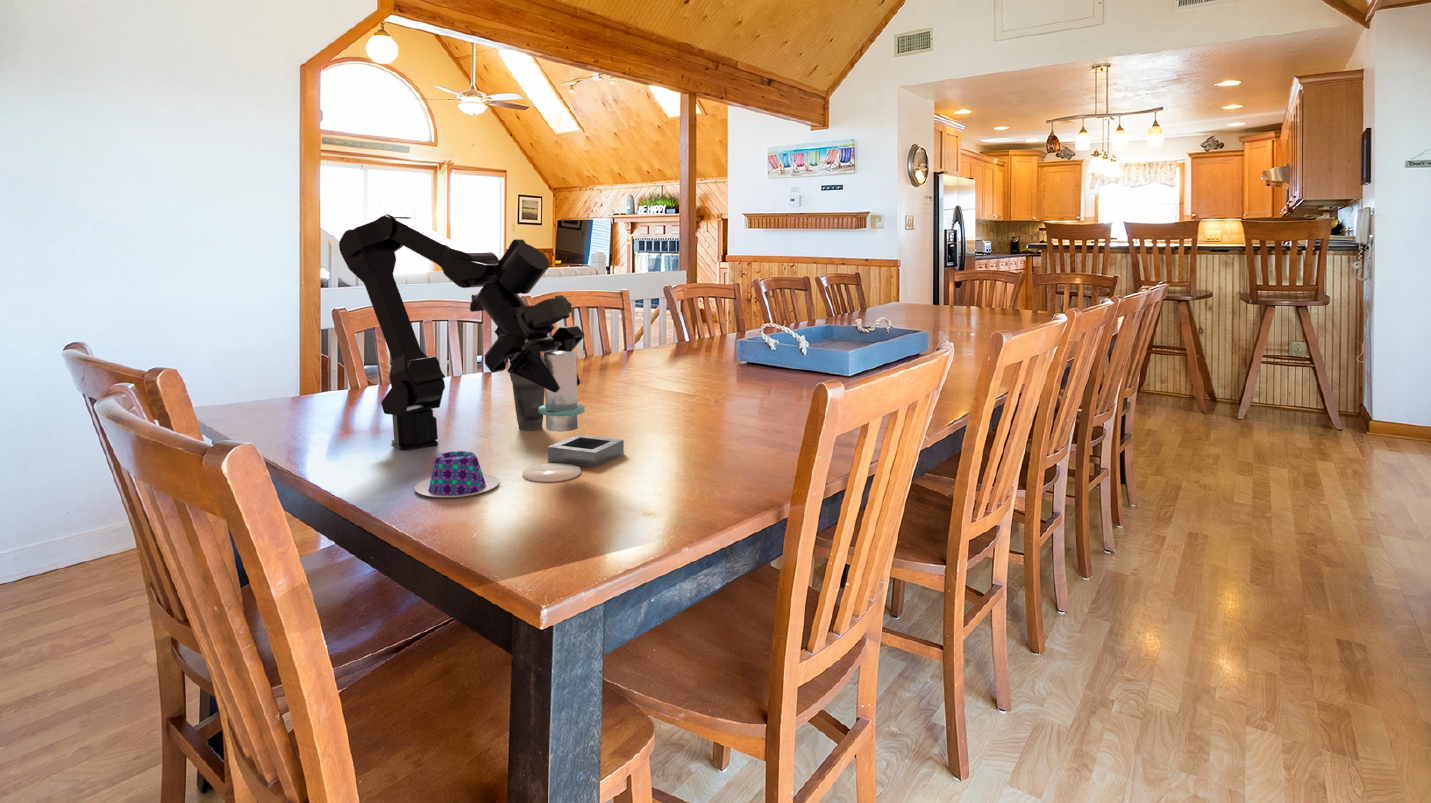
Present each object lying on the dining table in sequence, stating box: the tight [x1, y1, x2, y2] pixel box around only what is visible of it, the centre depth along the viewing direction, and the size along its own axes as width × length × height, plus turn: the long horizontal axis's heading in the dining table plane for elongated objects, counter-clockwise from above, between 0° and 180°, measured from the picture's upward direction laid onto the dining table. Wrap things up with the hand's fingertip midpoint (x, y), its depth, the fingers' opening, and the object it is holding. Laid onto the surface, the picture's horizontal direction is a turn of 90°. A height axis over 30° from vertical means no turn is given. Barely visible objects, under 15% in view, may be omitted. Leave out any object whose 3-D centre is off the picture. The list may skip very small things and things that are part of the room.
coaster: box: [522, 462, 582, 483], centre depth 124 cm, size 9×9×1 cm
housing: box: [547, 434, 625, 468], centre depth 133 cm, size 9×9×2 cm
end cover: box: [538, 350, 586, 433], centre depth 124 cm, size 7×7×12 cm
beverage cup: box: [508, 353, 545, 432], centre depth 152 cm, size 7×7×20 cm
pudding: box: [414, 450, 500, 498], centre depth 117 cm, size 12×12×5 cm
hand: (567, 387), depth 123 cm, fingers closed on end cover, 5 cm apart
